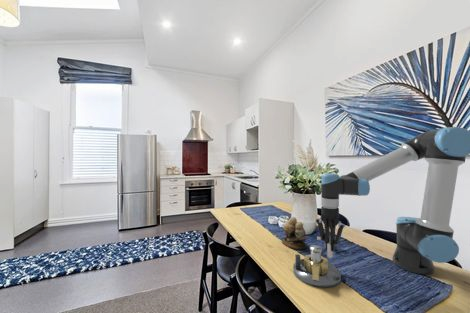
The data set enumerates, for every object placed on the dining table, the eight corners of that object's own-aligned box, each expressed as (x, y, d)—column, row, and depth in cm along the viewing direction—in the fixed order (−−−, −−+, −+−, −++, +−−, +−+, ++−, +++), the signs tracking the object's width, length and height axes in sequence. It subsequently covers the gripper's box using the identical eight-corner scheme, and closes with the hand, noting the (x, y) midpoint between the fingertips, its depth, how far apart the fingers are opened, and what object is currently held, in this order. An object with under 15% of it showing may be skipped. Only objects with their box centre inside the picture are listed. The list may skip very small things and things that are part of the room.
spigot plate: (349, 275, 91) (349, 248, 91) (325, 294, 79) (325, 263, 79) (309, 258, 107) (308, 235, 107) (284, 272, 95) (284, 246, 95)
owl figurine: (313, 248, 119) (313, 219, 119) (298, 253, 113) (298, 222, 113) (291, 237, 135) (290, 211, 135) (277, 241, 129) (276, 214, 129)
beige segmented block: (329, 282, 83) (328, 269, 83) (302, 277, 86) (302, 264, 86) (327, 260, 100) (327, 249, 100) (305, 256, 104) (305, 246, 104)
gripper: (347, 208, 94) (347, 259, 94) (320, 203, 103) (320, 249, 104) (341, 211, 89) (341, 265, 89) (312, 205, 98) (312, 254, 98)
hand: (329, 256), depth 96 cm, fingers closed
